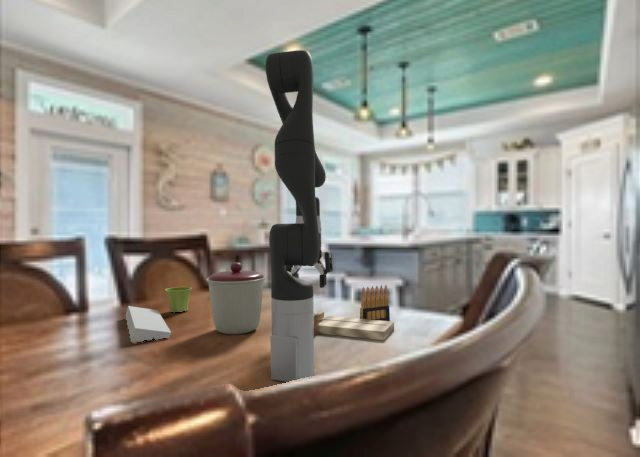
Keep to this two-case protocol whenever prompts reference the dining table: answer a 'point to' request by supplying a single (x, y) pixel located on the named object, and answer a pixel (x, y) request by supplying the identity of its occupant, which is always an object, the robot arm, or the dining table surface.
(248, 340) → the dining table surface
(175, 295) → the plant pot
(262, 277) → the canister
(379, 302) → the ammunition clip
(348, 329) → the board
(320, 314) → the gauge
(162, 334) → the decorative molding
